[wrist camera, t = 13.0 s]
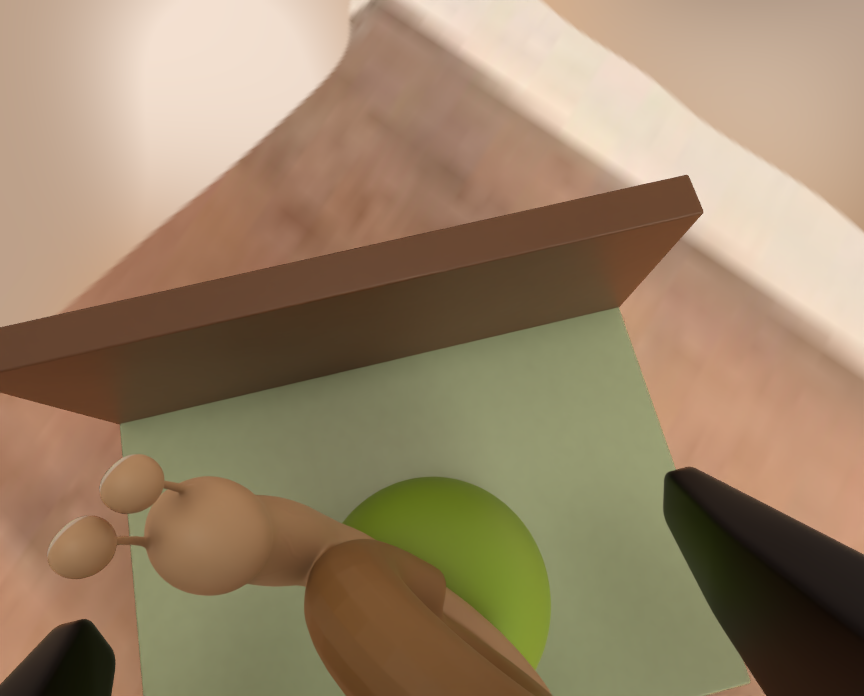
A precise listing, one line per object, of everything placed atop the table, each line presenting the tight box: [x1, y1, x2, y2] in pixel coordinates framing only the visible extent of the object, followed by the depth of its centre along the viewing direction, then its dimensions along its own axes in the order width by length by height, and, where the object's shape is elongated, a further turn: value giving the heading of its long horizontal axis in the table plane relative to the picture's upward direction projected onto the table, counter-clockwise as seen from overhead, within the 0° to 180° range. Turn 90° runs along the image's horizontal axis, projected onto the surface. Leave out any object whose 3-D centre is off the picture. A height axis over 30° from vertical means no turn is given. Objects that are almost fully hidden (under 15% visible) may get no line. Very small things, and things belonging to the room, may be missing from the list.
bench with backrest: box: [0, 175, 750, 696], centre depth 15 cm, size 12×16×10 cm
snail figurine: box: [47, 454, 553, 696], centre depth 10 cm, size 5×6×12 cm
